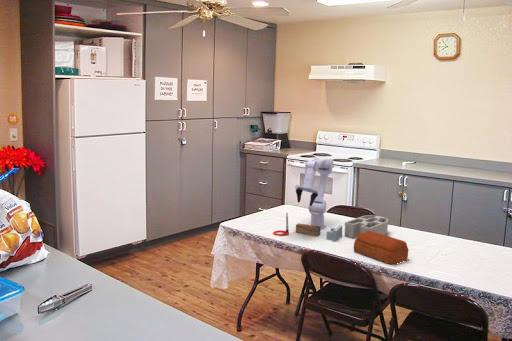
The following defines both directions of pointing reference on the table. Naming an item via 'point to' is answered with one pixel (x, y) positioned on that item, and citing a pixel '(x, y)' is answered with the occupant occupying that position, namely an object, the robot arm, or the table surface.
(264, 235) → the table surface
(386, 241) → the bread
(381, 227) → the grey hollow block
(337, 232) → the grey block
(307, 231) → the brown wooden block
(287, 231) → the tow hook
